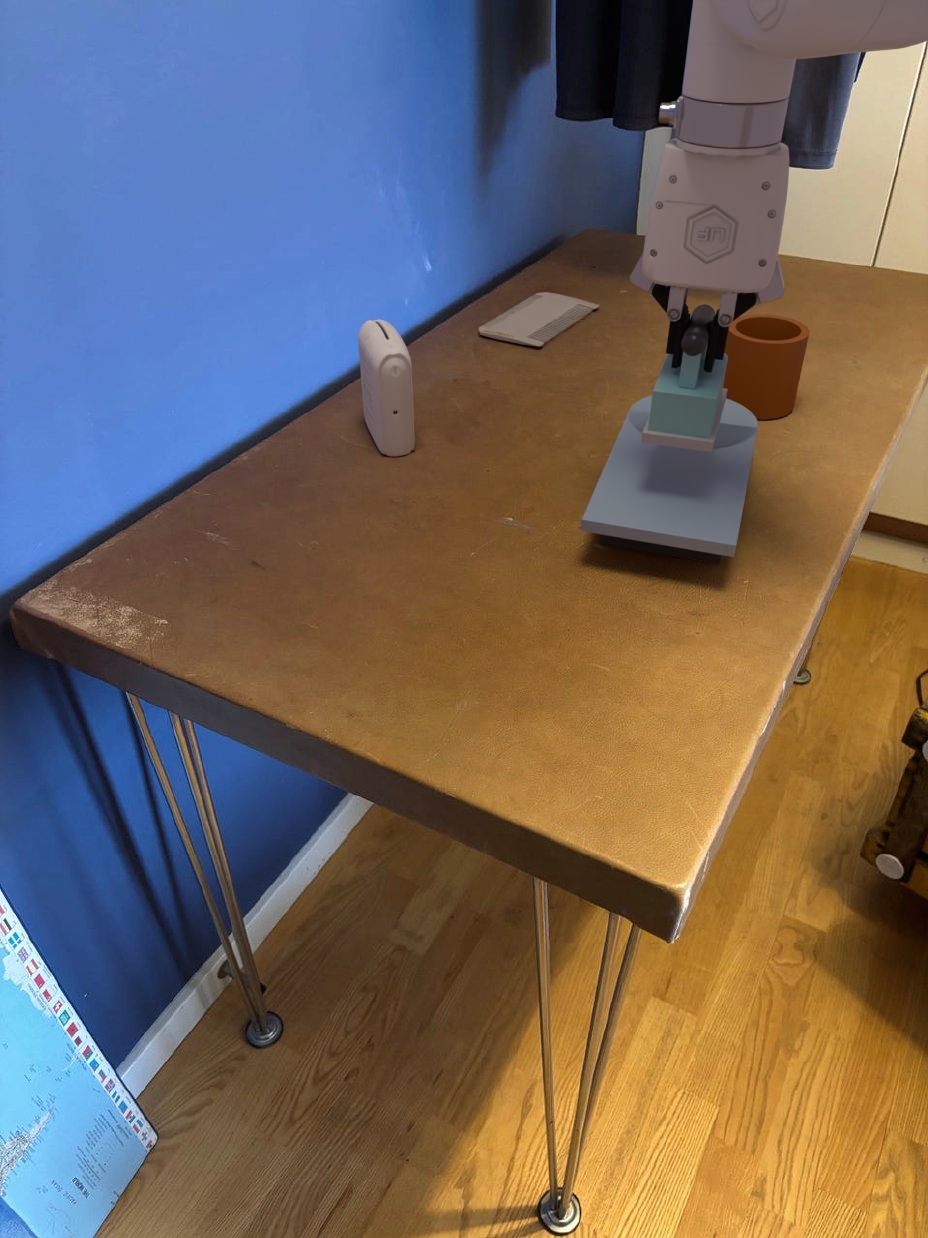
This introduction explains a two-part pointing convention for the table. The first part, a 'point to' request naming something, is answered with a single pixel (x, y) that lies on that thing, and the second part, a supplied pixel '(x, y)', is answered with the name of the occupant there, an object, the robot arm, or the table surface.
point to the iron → (688, 393)
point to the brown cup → (765, 363)
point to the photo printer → (387, 387)
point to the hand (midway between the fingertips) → (693, 362)
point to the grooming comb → (537, 319)
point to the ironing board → (674, 490)
